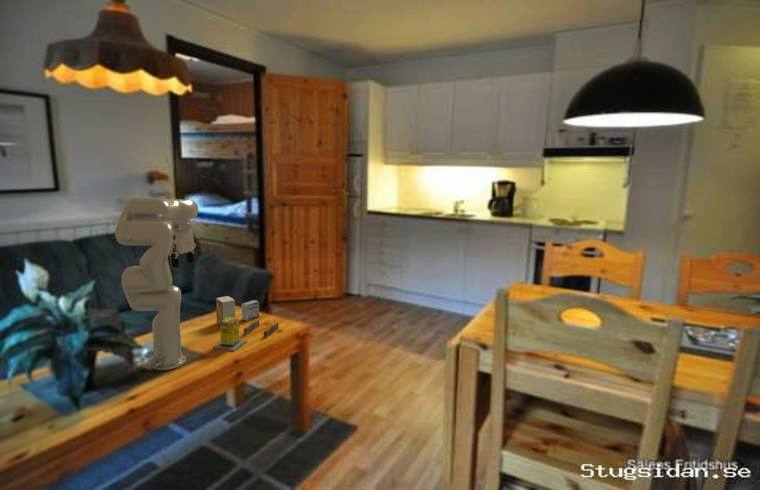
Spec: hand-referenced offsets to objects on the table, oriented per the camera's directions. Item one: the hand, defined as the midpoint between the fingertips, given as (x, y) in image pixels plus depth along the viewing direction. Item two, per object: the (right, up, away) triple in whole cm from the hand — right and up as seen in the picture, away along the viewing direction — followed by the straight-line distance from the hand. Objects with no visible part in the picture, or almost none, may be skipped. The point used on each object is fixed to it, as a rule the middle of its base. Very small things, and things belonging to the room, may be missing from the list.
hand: (183, 264), depth 187 cm
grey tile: (+23, -35, -6) cm, 42 cm away
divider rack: (+32, -32, +10) cm, 47 cm away
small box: (+13, -30, +18) cm, 38 cm away
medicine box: (+22, -29, +27) cm, 45 cm away
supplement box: (+23, -34, -6) cm, 42 cm away
